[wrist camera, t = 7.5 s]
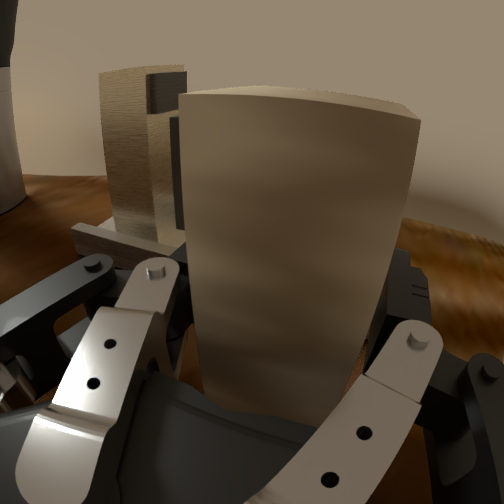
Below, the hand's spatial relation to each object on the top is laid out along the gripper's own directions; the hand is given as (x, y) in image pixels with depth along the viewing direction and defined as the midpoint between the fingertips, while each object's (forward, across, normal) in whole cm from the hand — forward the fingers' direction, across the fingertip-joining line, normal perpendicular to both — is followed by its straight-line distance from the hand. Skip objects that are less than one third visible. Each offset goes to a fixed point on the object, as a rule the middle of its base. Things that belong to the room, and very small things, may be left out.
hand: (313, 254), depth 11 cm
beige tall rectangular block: (-3, 0, +6) cm, 7 cm away
